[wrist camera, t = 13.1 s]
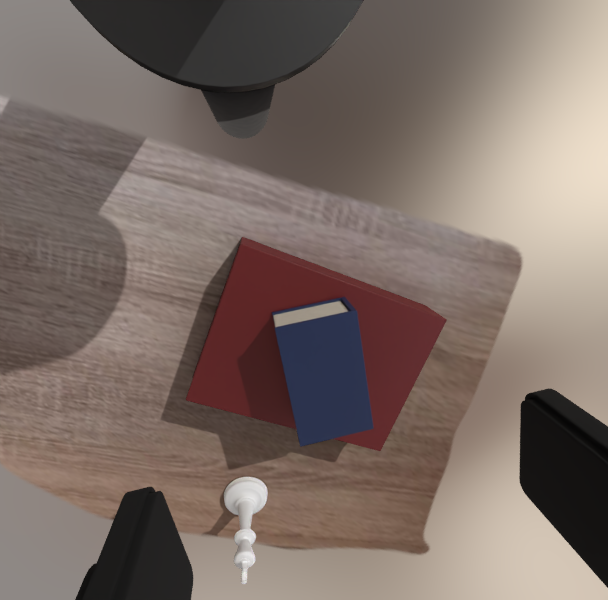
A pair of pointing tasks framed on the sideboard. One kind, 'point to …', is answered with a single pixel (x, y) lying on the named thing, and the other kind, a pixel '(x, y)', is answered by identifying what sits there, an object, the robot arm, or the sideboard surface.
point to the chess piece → (245, 516)
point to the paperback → (324, 369)
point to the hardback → (265, 351)
